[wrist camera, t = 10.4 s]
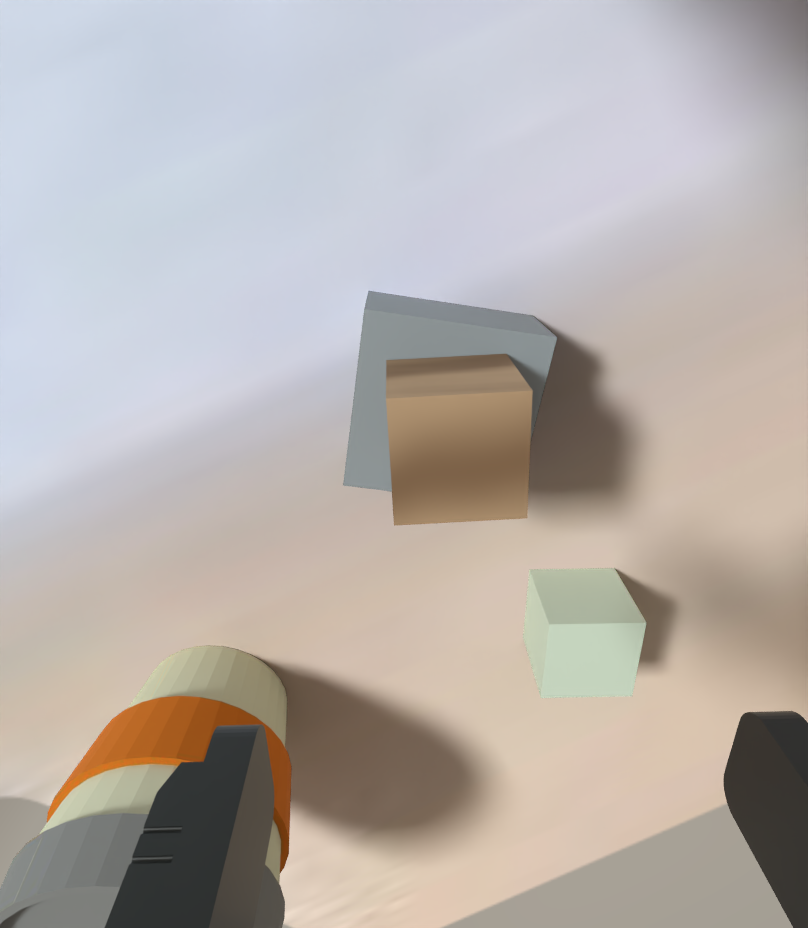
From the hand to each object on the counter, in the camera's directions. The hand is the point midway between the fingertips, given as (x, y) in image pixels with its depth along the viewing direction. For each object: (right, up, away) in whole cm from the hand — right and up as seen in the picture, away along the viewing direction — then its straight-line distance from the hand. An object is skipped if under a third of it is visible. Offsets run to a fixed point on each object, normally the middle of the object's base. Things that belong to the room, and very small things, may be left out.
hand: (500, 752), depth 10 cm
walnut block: (0, +7, +16) cm, 17 cm away
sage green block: (+8, -3, +26) cm, 28 cm away
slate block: (0, +9, +20) cm, 22 cm away
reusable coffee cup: (-14, -10, +29) cm, 34 cm away
